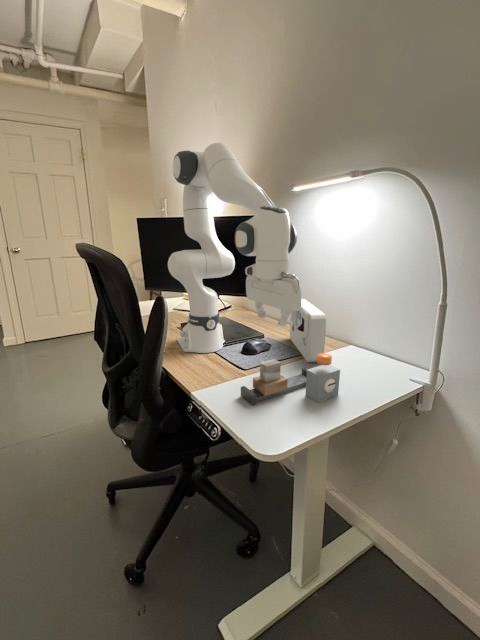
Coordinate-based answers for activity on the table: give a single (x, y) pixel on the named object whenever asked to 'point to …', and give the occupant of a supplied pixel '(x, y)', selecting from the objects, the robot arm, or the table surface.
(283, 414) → the table surface
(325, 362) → the button
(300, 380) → the rail
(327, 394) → the cabinet
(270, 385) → the carriage
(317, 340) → the rounded white slab
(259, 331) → the table surface
